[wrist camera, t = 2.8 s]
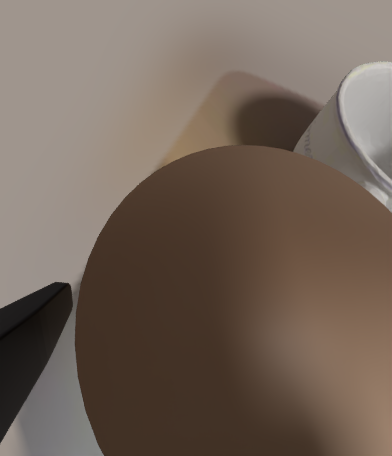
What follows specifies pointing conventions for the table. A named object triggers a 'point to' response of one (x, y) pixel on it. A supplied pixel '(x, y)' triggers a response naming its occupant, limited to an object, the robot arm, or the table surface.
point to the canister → (240, 312)
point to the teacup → (357, 130)
